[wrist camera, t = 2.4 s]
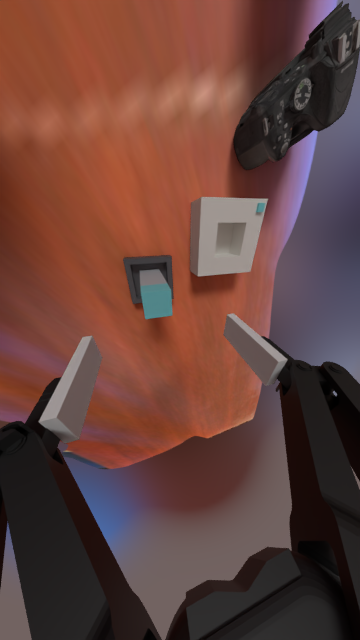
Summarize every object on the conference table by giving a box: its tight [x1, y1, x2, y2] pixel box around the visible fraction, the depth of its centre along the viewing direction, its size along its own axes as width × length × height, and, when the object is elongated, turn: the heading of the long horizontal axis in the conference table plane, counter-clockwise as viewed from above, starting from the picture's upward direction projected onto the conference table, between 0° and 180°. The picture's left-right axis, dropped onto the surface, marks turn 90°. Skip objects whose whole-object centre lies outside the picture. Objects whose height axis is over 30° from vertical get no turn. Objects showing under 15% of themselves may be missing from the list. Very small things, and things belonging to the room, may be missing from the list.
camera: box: [234, 1, 360, 170], centre depth 19 cm, size 13×10×10 cm
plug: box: [139, 269, 172, 319], centre depth 25 cm, size 4×4×13 cm
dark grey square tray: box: [123, 255, 173, 304], centre depth 30 cm, size 9×9×2 cm
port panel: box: [190, 197, 268, 276], centre depth 28 cm, size 12×12×5 cm
